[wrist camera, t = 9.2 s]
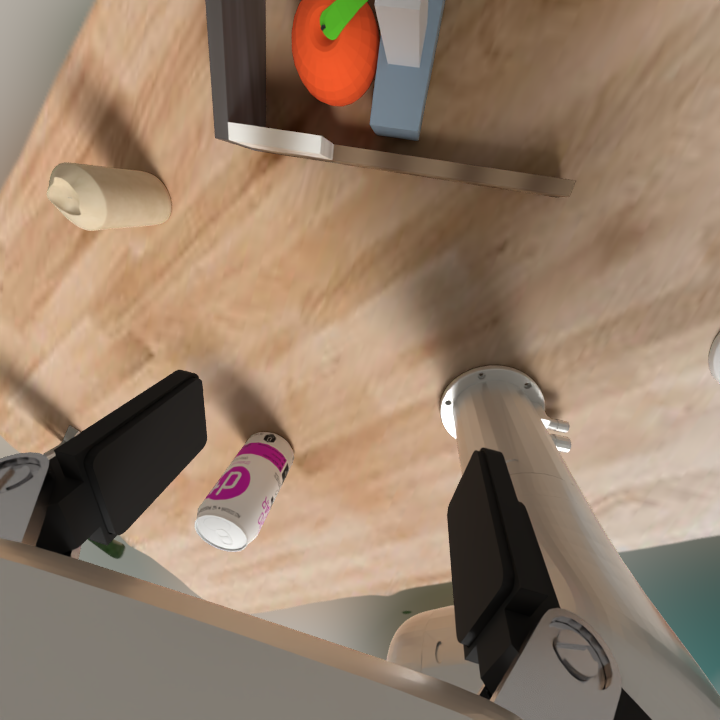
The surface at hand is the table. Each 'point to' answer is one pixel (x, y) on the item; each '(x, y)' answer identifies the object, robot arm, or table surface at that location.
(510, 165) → the table surface
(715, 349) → the candlestick
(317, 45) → the clementine
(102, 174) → the candle
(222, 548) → the supplement can
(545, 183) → the frame
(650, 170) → the table surface
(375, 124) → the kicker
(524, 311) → the table surface
